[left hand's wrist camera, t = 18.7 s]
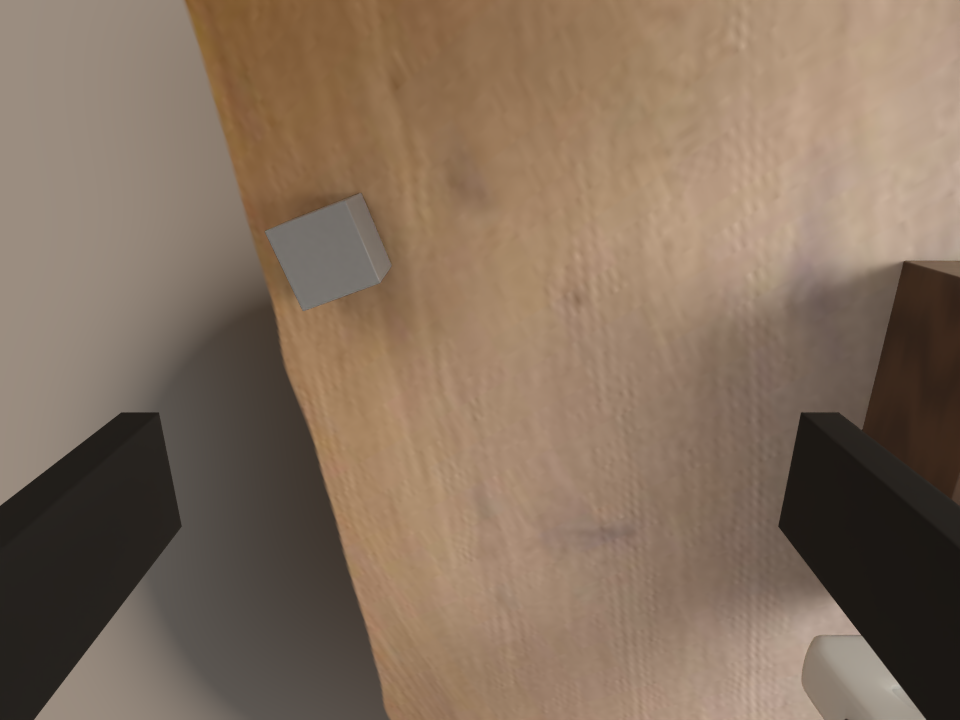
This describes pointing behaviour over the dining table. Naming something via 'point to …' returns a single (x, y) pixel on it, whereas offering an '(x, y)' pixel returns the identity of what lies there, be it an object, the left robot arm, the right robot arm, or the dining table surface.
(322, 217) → the grey block
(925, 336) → the plank
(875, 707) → the right robot arm
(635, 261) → the dining table surface
